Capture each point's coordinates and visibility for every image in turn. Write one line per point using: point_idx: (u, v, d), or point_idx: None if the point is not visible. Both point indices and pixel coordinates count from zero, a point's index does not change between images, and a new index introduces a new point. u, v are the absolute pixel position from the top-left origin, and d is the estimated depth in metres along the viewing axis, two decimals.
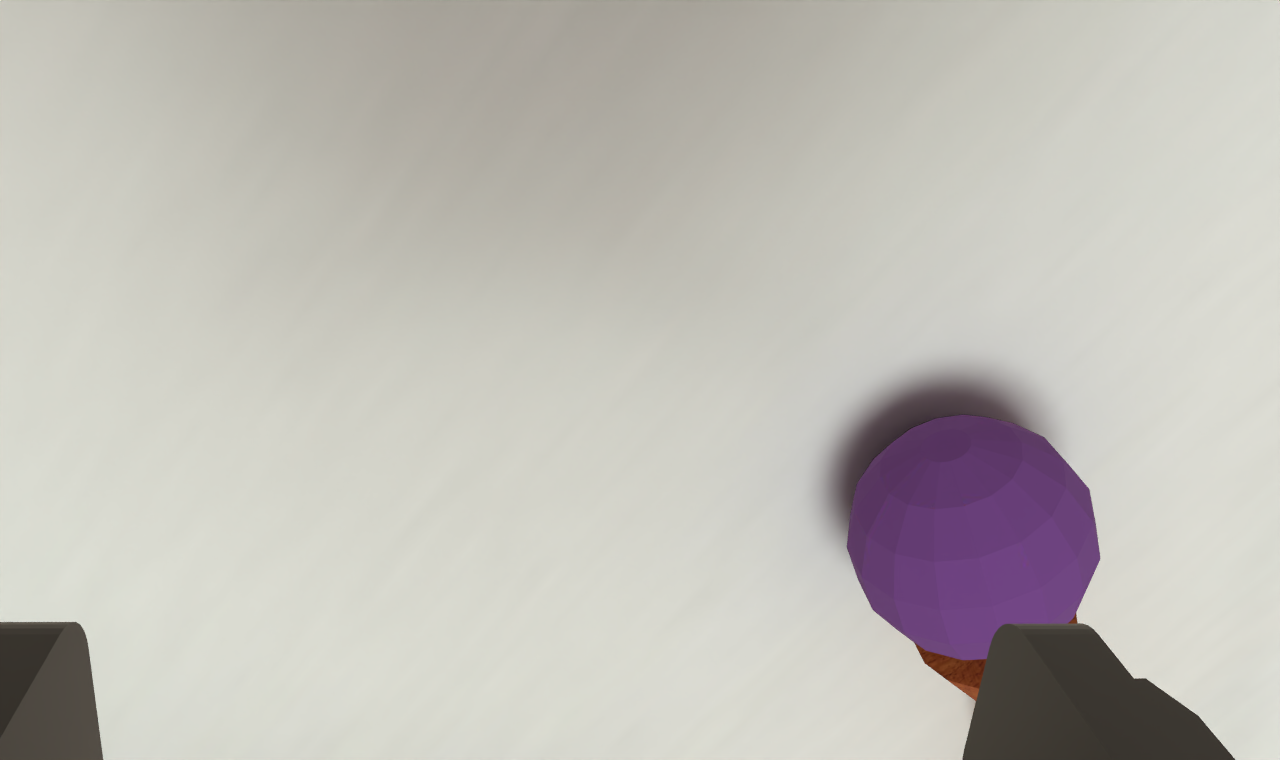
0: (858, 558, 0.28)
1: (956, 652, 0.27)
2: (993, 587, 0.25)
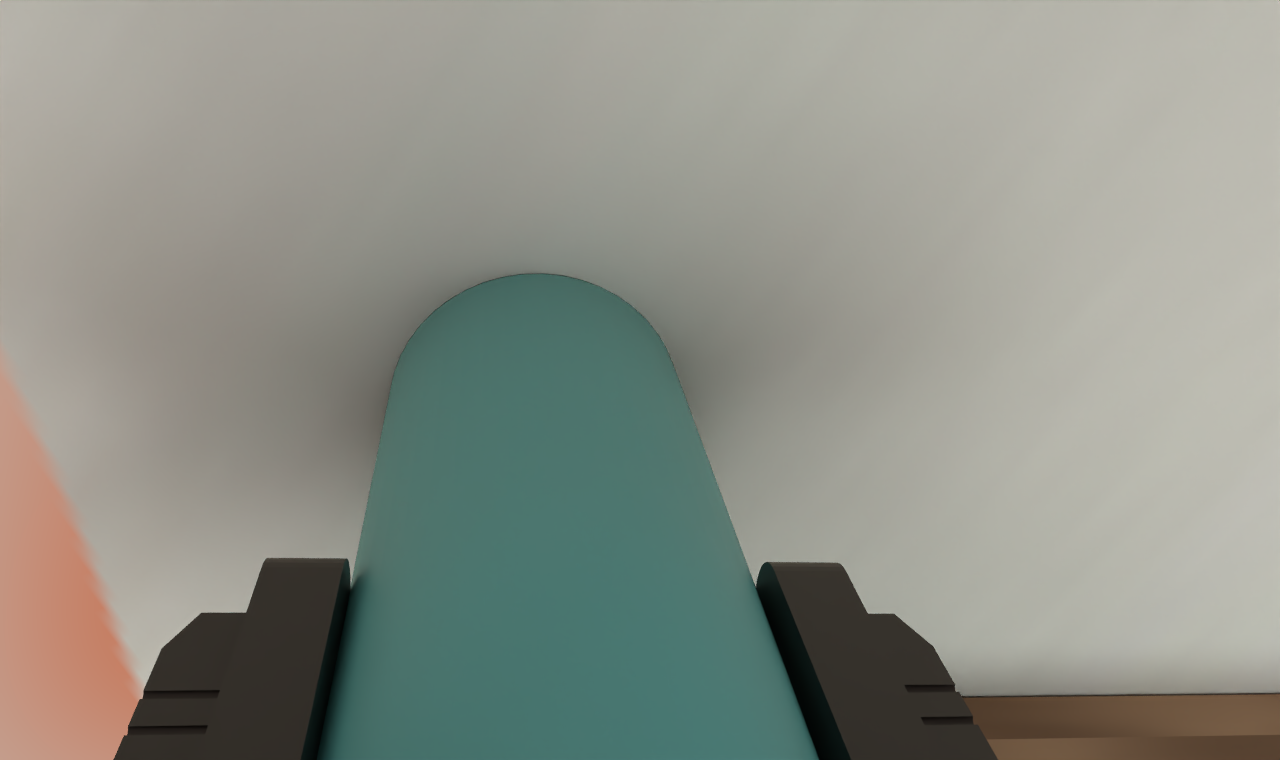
0: None
1: None
2: None
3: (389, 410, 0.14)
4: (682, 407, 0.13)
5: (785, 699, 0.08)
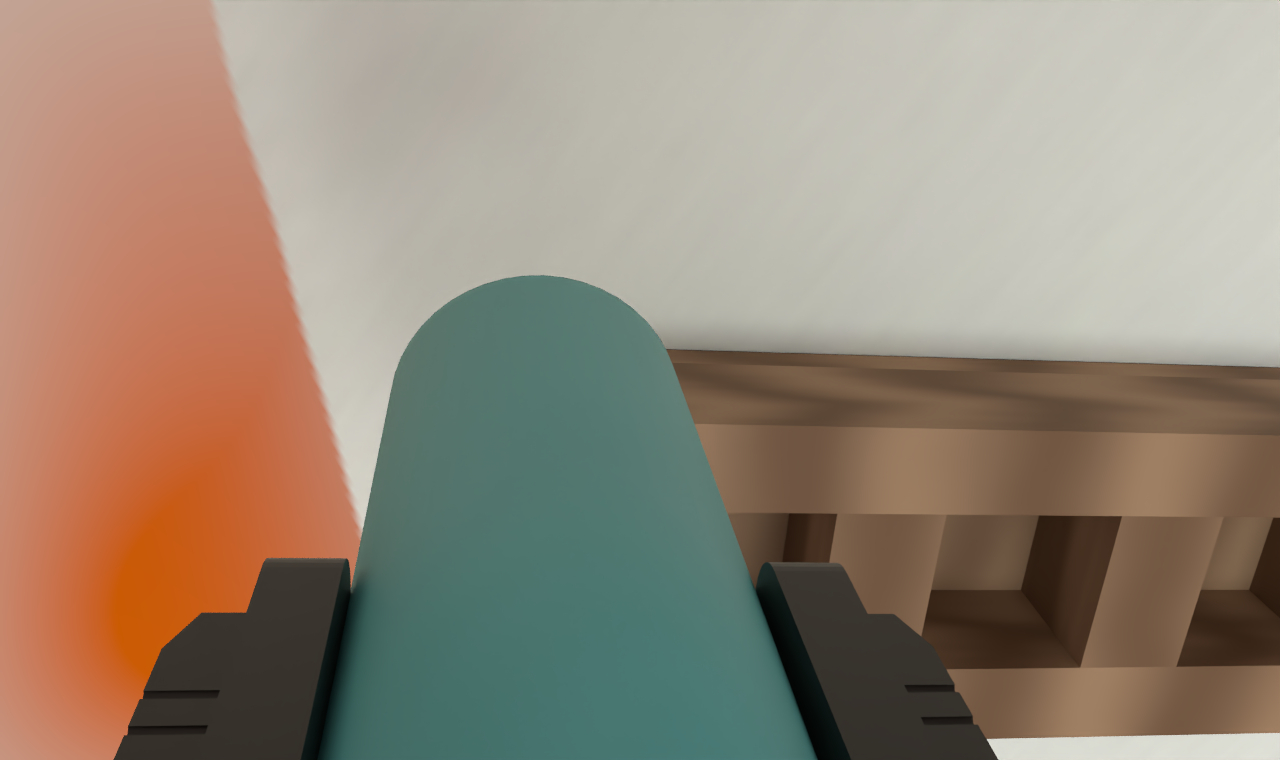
0: None
1: None
2: None
3: (390, 412, 0.14)
4: (682, 409, 0.13)
5: (784, 700, 0.08)
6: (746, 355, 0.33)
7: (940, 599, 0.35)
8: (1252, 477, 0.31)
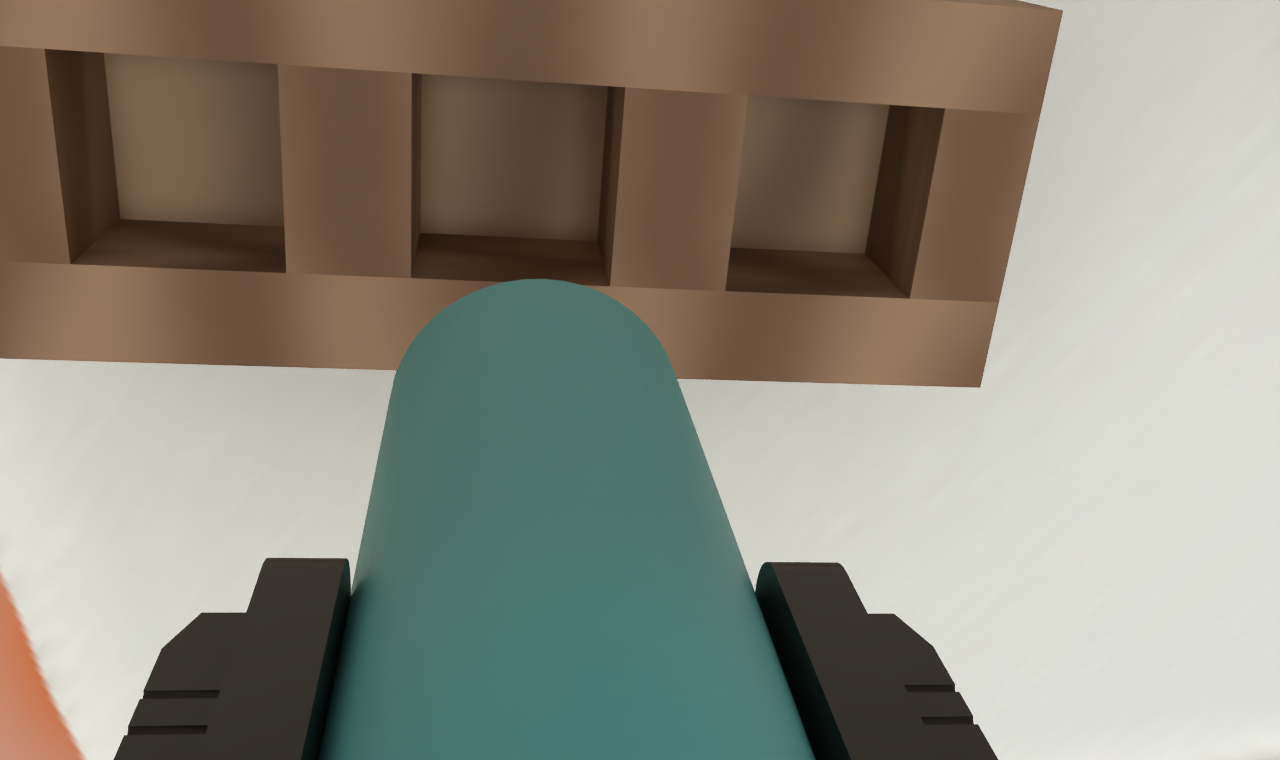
0: None
1: None
2: None
3: (389, 415, 0.14)
4: (682, 413, 0.13)
5: (784, 707, 0.08)
6: None
7: (495, 241, 0.32)
8: (774, 43, 0.27)
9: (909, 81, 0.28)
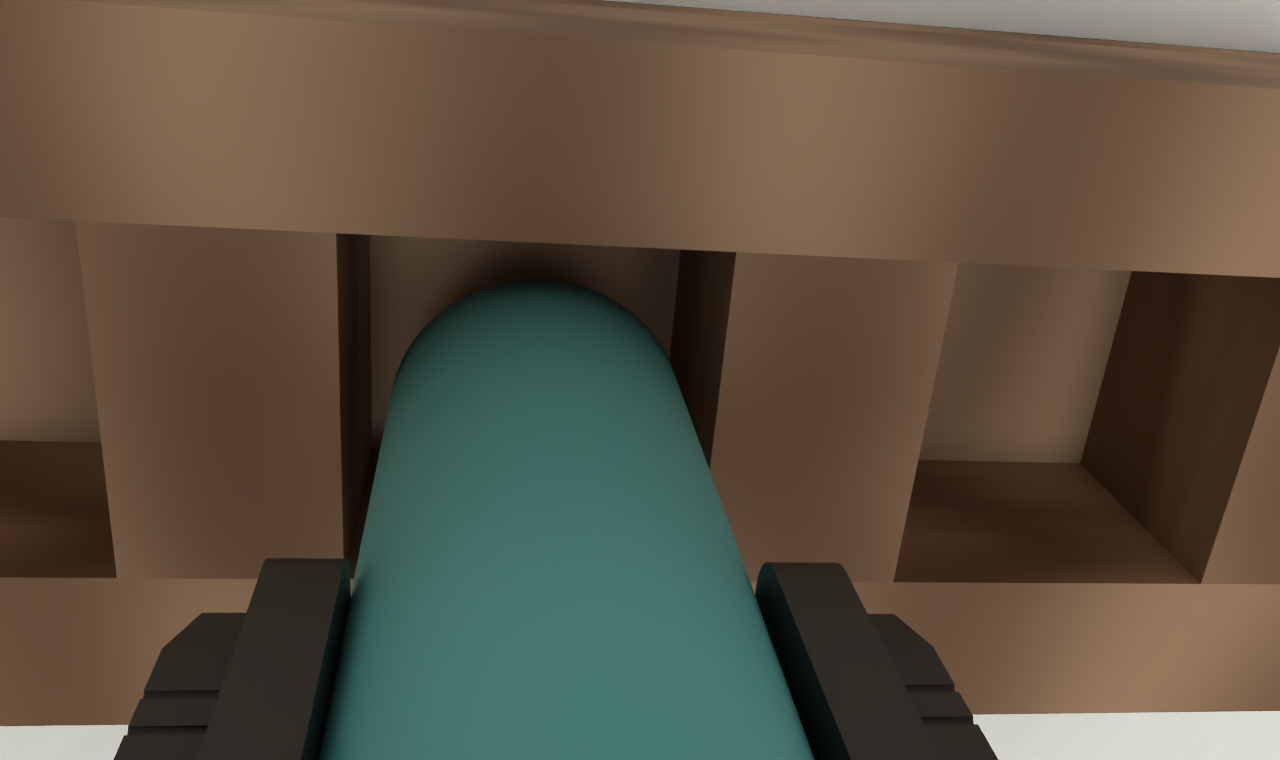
0: None
1: None
2: None
3: (390, 416, 0.14)
4: (682, 413, 0.13)
5: (784, 708, 0.08)
6: None
7: None
8: (1013, 171, 0.15)
9: (1246, 233, 0.15)
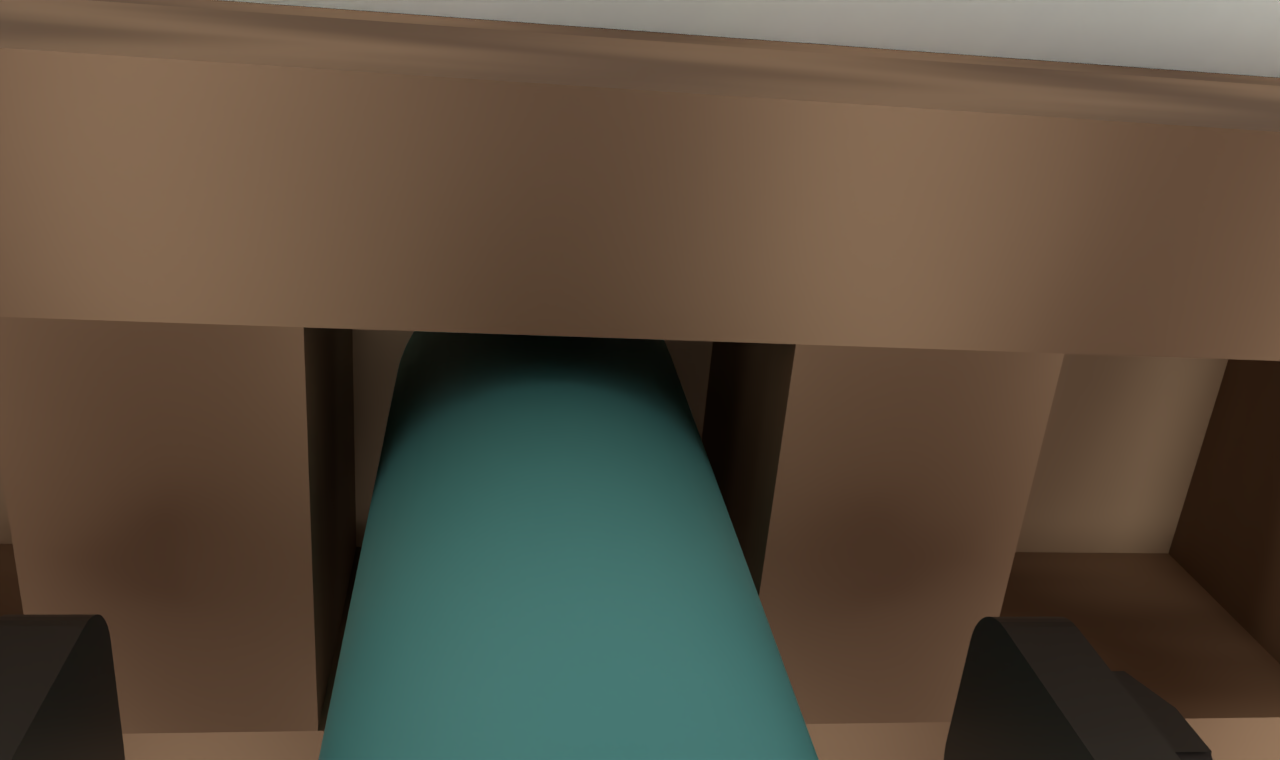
0: None
1: None
2: None
3: (395, 397, 0.14)
4: (678, 394, 0.14)
5: (772, 664, 0.09)
6: None
7: None
8: (1134, 245, 0.12)
9: None
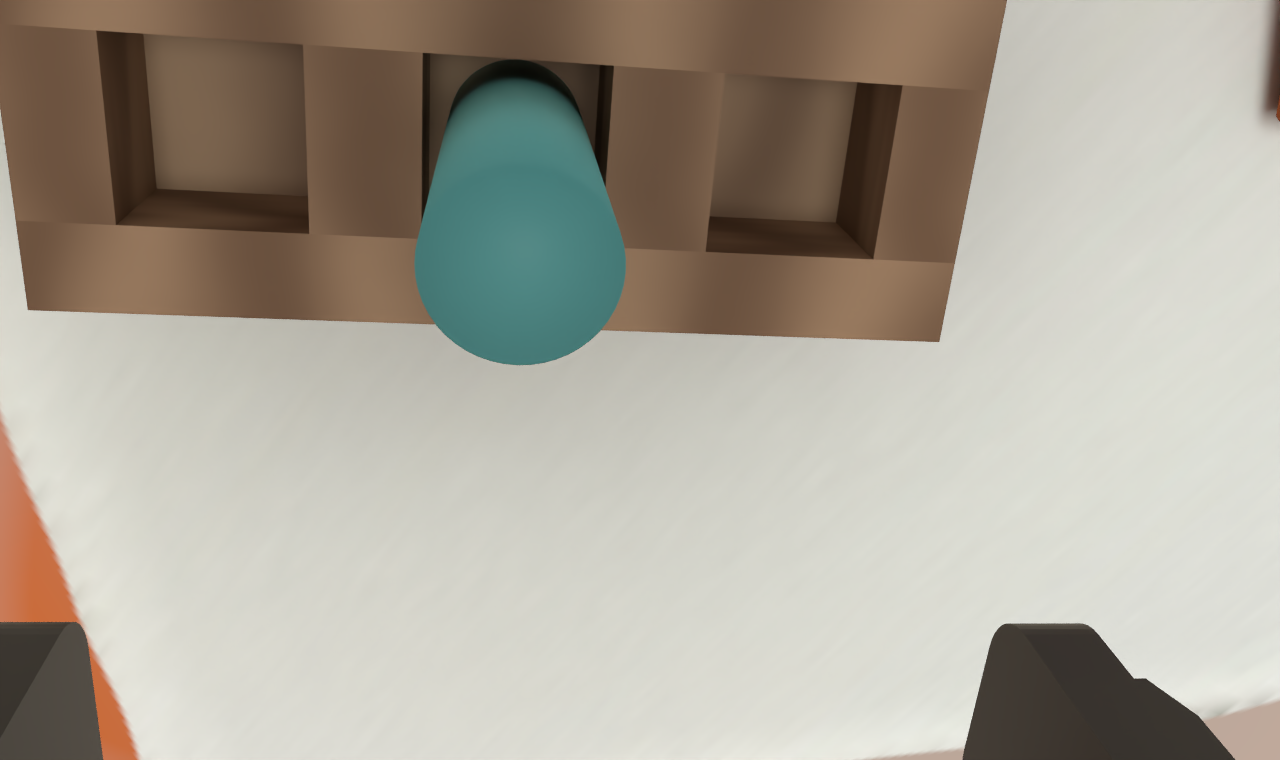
0: None
1: None
2: None
3: (451, 108, 0.32)
4: (573, 101, 0.32)
5: (584, 138, 0.27)
6: None
7: None
8: (747, 26, 0.30)
9: (870, 60, 0.31)
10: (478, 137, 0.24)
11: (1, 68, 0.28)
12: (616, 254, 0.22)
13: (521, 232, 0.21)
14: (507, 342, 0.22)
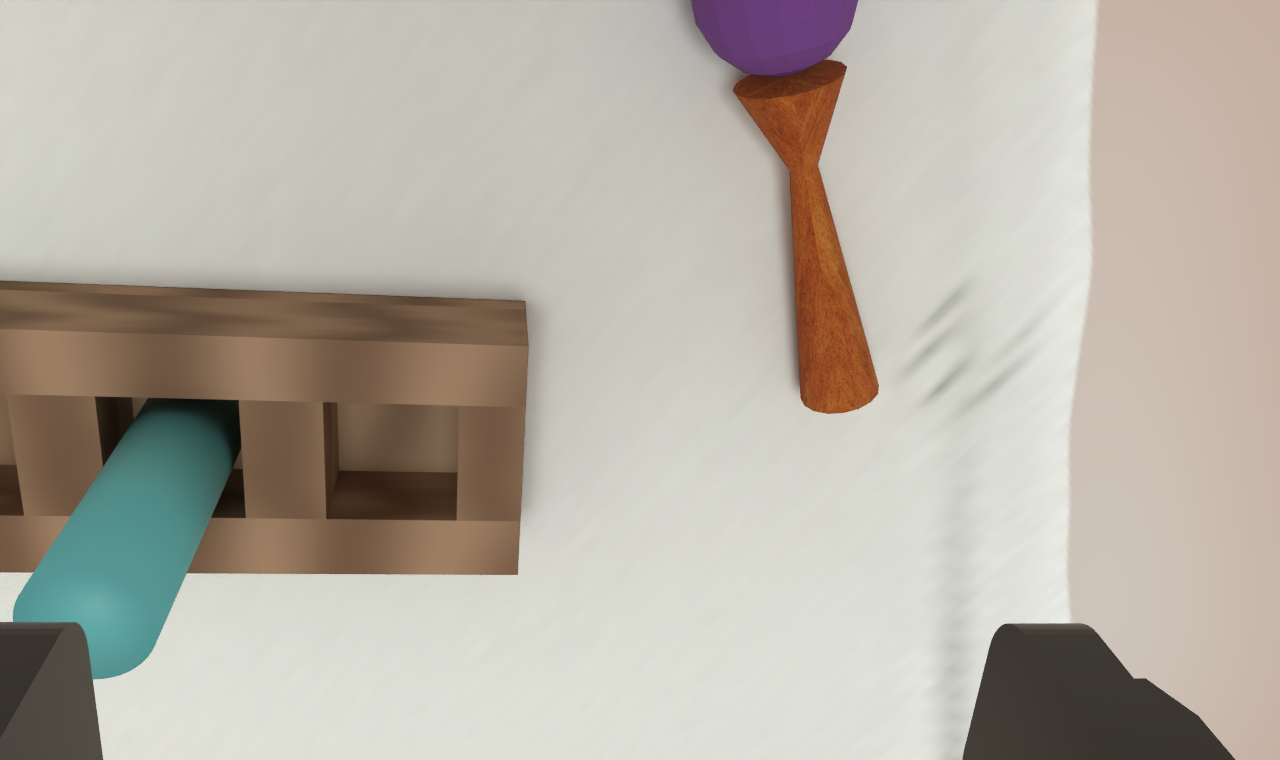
0: None
1: (753, 45, 0.39)
2: None
3: None
4: (223, 414, 0.43)
5: (189, 480, 0.39)
6: None
7: None
8: (335, 371, 0.42)
9: (431, 390, 0.42)
10: (82, 513, 0.35)
11: None
12: (149, 614, 0.33)
13: (82, 604, 0.33)
14: None
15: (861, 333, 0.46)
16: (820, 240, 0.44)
